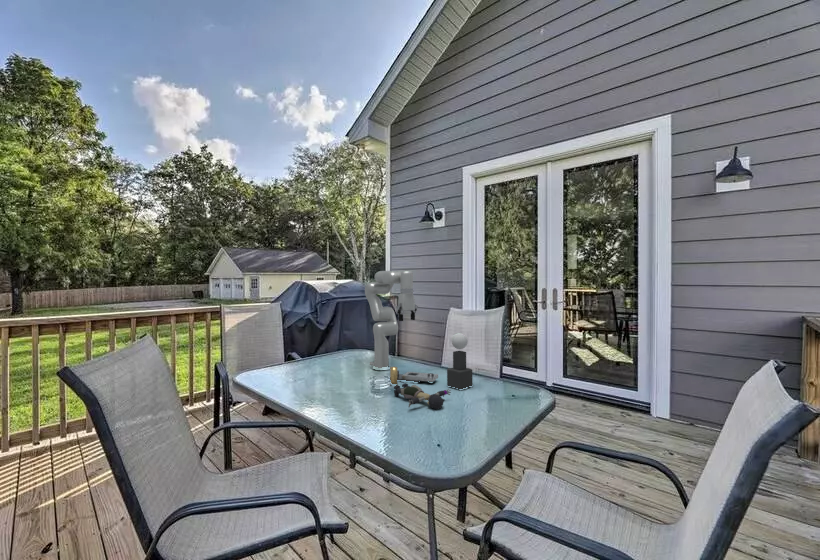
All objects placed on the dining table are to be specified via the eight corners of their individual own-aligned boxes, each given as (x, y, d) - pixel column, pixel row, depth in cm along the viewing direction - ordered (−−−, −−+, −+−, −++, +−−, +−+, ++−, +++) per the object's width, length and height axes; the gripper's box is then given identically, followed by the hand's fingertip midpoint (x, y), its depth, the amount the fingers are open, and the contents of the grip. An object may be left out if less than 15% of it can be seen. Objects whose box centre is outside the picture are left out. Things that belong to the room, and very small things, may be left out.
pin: (389, 385, 209) (389, 367, 209) (392, 383, 213) (392, 366, 213) (395, 386, 207) (395, 368, 207) (398, 384, 211) (398, 366, 211)
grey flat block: (388, 380, 219) (388, 372, 219) (394, 376, 228) (394, 368, 228) (432, 385, 209) (432, 376, 209) (438, 381, 218) (438, 372, 218)
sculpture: (459, 383, 212) (459, 331, 212) (472, 387, 204) (472, 333, 205) (446, 386, 206) (446, 332, 206) (460, 390, 198) (460, 334, 198)
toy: (379, 401, 183) (418, 418, 160) (379, 386, 183) (418, 402, 160) (419, 390, 200) (461, 404, 177) (419, 377, 200) (461, 390, 177)
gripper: (412, 291, 230) (412, 319, 230) (391, 292, 218) (392, 321, 218) (421, 291, 225) (421, 319, 224) (400, 292, 213) (400, 321, 212)
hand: (407, 320), depth 221 cm, fingers open, 9 cm apart
